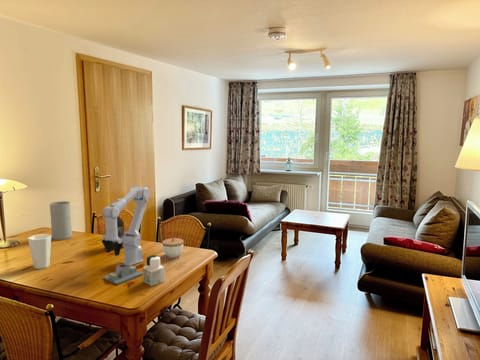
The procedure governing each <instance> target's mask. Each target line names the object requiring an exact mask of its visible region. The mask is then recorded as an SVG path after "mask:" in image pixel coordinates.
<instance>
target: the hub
mask: <svg viewBox="0 0 480 360" xmlns="http://www.w3.org/2000/svg"><path fill="white" fill-rule="evenodd" d="M129 267H130V265H127V264H124V263H121V264H118V265H116V266H115V273H116V274H118V276H119V277H121V278H123V277H125V276H128V275H130V274H129Z"/></svg>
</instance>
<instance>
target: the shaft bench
mask: <svg viewBox="0 0 480 360" xmlns="http://www.w3.org/2000/svg"><path fill="white" fill-rule="evenodd" d="M137 269H138V268H137V266H133V265H129V274H130V275H128V276H125V277H123V278H121V277H119V276H118V274H116V272H114V271H113V272H111V273H109V275H108V274H107V275H105V276H103V277H102V278H103V280H105V281H108V282H110V283H112V284H114V285H117V286H118V285H121V284H124V283H127V282H128V281H131V280H134V279H136V278H139V277H142V276H143V272H141V271H139V270H137Z"/></svg>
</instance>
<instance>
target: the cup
mask: <svg viewBox="0 0 480 360" xmlns="http://www.w3.org/2000/svg"><path fill="white" fill-rule="evenodd" d="M27 241H28V247H29V250H30V254H31V255H30V256H31V260H32V263H33V268H34V269H37V270H39V269H40V270H41V269H45V268H46V269H47V268H48V267H50V265H51V263H50V261H51V245H52V234H49V233H41V234H34V235H32V236H30V237H29V236H28V237H27Z"/></svg>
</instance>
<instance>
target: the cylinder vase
mask: <svg viewBox="0 0 480 360" xmlns="http://www.w3.org/2000/svg"><path fill="white" fill-rule="evenodd" d="M49 211H50V212H49V215H50V225H51V226H50V227H51V240H55V241H63V240H68V239H70V238H72V237H73V230H72V217H71V216H72V215H71V202H70V201H65V200H64V201H62V200H61V201H53V202H50V203H49Z"/></svg>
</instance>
